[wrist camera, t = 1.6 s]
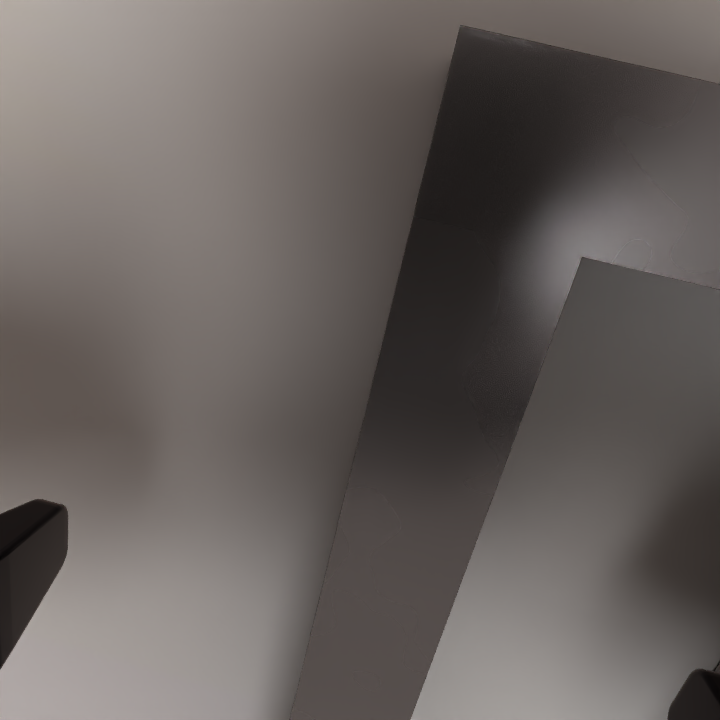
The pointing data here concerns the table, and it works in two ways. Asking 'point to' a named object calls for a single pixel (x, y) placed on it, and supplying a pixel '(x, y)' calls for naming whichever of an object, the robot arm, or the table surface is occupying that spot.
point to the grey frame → (494, 327)
